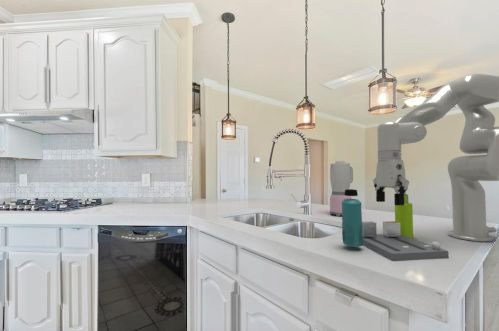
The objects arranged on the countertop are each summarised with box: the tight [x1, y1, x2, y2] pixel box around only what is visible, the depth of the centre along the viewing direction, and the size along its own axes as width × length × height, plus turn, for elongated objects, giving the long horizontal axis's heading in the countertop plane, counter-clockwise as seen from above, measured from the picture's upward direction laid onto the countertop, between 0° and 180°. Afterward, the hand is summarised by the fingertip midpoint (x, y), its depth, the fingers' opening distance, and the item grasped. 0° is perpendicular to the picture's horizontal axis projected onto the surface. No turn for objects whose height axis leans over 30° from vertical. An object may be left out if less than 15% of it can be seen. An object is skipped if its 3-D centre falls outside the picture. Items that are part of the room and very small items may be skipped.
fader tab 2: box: [382, 220, 401, 237], centre depth 85 cm, size 5×2×5 cm, turn 96°
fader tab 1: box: [362, 220, 378, 237], centre depth 86 cm, size 5×2×5 cm, turn 96°
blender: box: [329, 160, 354, 218], centre depth 141 cm, size 16×12×32 cm
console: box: [362, 233, 449, 262], centre depth 79 cm, size 18×20×4 cm
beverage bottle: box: [341, 188, 363, 248], centre depth 80 cm, size 6×7×20 cm
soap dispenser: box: [394, 192, 414, 239], centre depth 94 cm, size 6×7×20 cm
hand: (389, 203), depth 86 cm, fingers open, 9 cm apart
